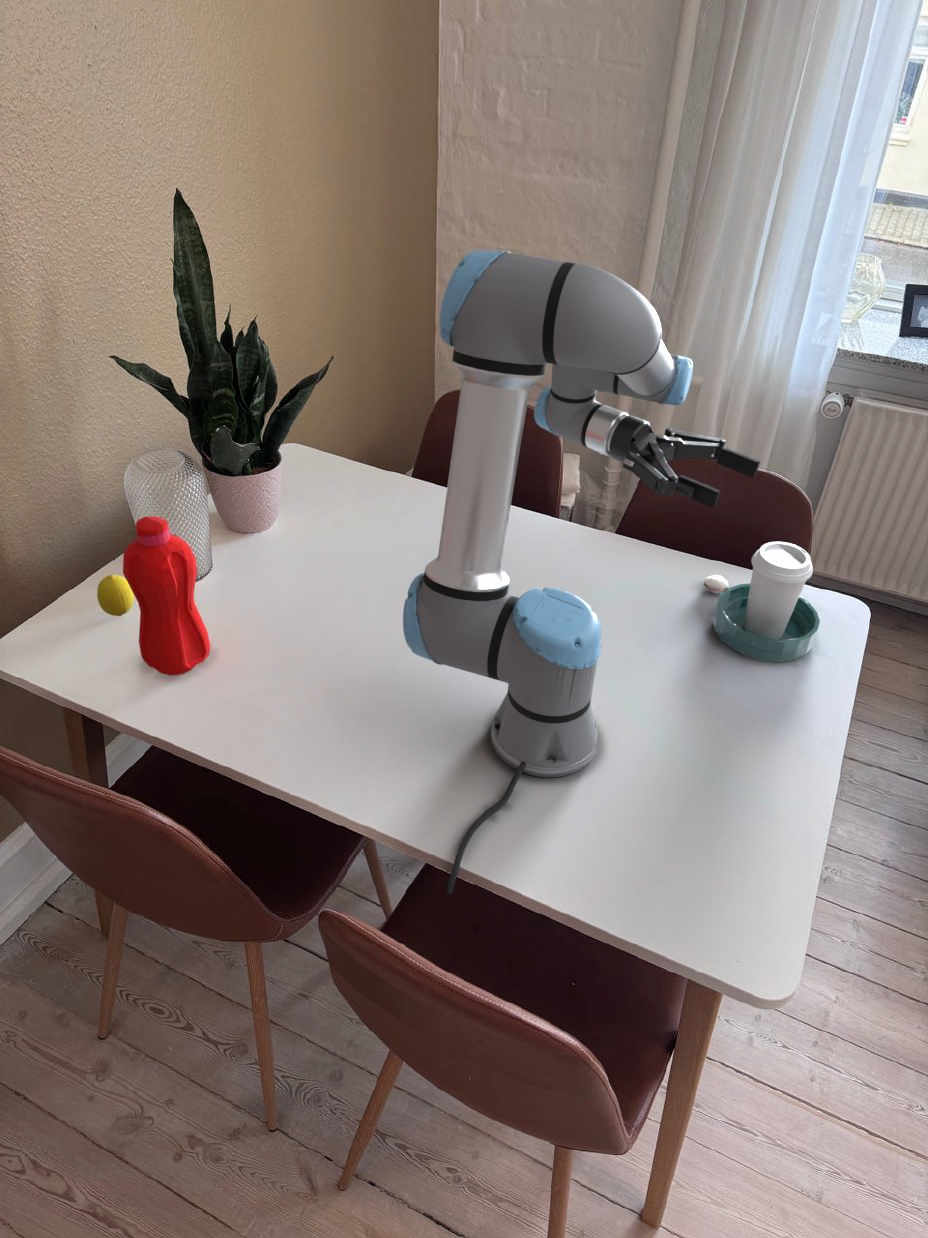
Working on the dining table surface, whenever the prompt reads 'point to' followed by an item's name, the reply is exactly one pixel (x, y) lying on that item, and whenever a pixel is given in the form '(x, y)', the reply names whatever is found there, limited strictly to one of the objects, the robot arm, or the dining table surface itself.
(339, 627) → the dining table surface
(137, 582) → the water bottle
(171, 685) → the dining table surface
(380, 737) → the dining table surface
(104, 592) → the lemon
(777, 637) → the coffee cup
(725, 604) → the bowl
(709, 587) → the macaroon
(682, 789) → the dining table surface
